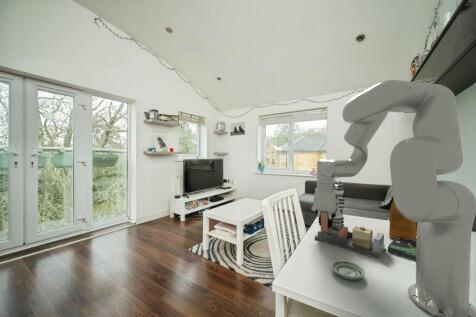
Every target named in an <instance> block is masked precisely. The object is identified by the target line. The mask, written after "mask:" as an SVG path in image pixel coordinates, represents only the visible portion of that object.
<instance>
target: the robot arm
mask: <svg viewBox="0 0 476 317" xmlns="http://www.w3.org/2000/svg"><path fill="white" fill-rule="evenodd" d="M457 110H458V108H457V100H456V96H455V94H454V92H453V90H451V89H450V88H449V87H447V86H445V85H443V84H437V83H430V82H429V83H427V82H420V81H419V82H418V81H409V80H408V81H407V80H400V79H388V80H384V81H380V82H379V83H377V84H375V85H373V86H371V87H370V88H368V89H366V90H364V91H363V92H360V93H359V94H357V95H355V96H354V97H352V98H351V99H349V101H347V103H346V104H345V106H344V107H343V109H342V114H341V115H342V119H343V120H344V122H346V123H348V124H350V125H349V127H348V128H347V130H346V132H345V133H344V136H343V139H344V141H345V142H346V143H347V144H348V145H349V146H350V147H352V148H353V151H352V153H351V154H350V156H349V158H348V159H319V160H317V163H316V188H315V190H314V195H313V205H312V206H311V210H312V211H313V212H314V213H315V214H316V216H317V217H318V223H319V224H318V225H319V226H320V227H321V211H324V212H328V216H329V219H328V228H330V227H332V225H333V218H334V217H335V216H339V215H341V212H340V210H339V201H338V194H337V190H335V188H338V185H335V180H336V178H337V179H339V178H352V177H355V176H357V175H359V173H360V172H361V171H362V169H363V168H364V167H365V165H366V164H367V161H368V159H369V158H368V157H369V149H368V146H369V143H370V142H371V140H372V138H373V137H374V135H375V134H376V133H377V131H378V130H379V129H380V126H382V124H383V122H384V121H385V119H386V118H387V117H388V113H390V112H391V113H406V114H407V113H409V114H410V113H411V114H412V113H413V114H414V117H413V119H412V126H411V128H412V134H413V135H412V136H413V137H409V138H405V139H403V140H400V141H399V142H398V143H397V144H395V145H394V147H393V148H392V151H391V153H390V156H389V167H390V168H389V169H390V179H391V180H390V181H391V189H392V190H391V191H392V198H393V200H394V203H395V205H396V208H397V209H398V211H399V212H400V213H401V214H402V215H403V216H404V217H405V218H407V219H409V220H411V221H415V222H418V227H417V236H416V241H417V244H416V260H415V261H416V262H415V263H416V264H415V284H411V285H409V287H408V289H407V291H408V292H407V293H408V296H409V298H410V299H411V300H412V301H413V302H414V304H416V305H417V306H418V307H420V308H421V309H423V310H425V311H426V312H428V313H430V315H433V316H435V317H476V307H475V306H474V305H472V303H470V282H471V280H470V279H471V278H470V277H471V250H472V247H471V245H472V230H473V225H474V221H475V218H476V197H475V194H474V193H473V192H472V190H470V188H468V187H467V186H465V185H463V184H461V183H459V182H457V181H451V180H445V179H443V180H441V179H440V180H438V179H437V178H438V177H437V176H441V175H443V176H444V175H449V174H452V173H455V172H457V171H458V170H459V169H460V168H461V167H462V164H463V162H464V156H463V153H464V152H463V148H462V141H461V132H460V127H459V122H458V121H459V119H458V111H457ZM335 212H336V213H335ZM333 213H335V214H333Z"/></svg>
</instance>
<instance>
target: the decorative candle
mask: <svg viewBox="0 0 476 317" xmlns="http://www.w3.org/2000/svg"><path fill="white" fill-rule="evenodd" d="M335 185H338V188H335V190H337V194H338V201H339V210H340V212H341V215H339V216H335V217H334V218H333V225H332V227H333V228H337V229H342V228H343V227H345V223H344V222H345V220H344V219H345V217H344V208H345V206H344V205H345V201H346V200H345V199H344V197H346V195H345V194H346V192H345V191H344V183H343V182H342V181H341V180H337V179H335ZM335 213H336V212H335ZM335 213H333V214H335Z"/></svg>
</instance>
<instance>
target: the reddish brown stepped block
mask: <svg viewBox="0 0 476 317" xmlns="http://www.w3.org/2000/svg"><path fill="white" fill-rule="evenodd" d="M328 219H329V216H328V212H324V211H321V226H320V232H324V233H328V234H331V235H335V236H338V237H342V238H347V237H348V231H349V227H348V226H344V227H343V228H342V229H340V230H339V231H335V230H331V229H330V228H328Z"/></svg>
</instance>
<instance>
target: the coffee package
mask: <svg viewBox="0 0 476 317" xmlns="http://www.w3.org/2000/svg"><path fill="white" fill-rule="evenodd" d="M388 220H389V227H388V228H389V230H388V237H389V239H393V240H394V239H395V238H396V237H401V238H403V239H405V240H413V241H415V240H416V239H417V227H418V223H419V222H415V221H411V220H409V219H407V218H405V217H404V216H403V215H402V214H401V213H400V212H399V211H398V209H397V208H396V205H395V203H394V199H393V200H392V202H391V204H390V209H389V219H388Z"/></svg>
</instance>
